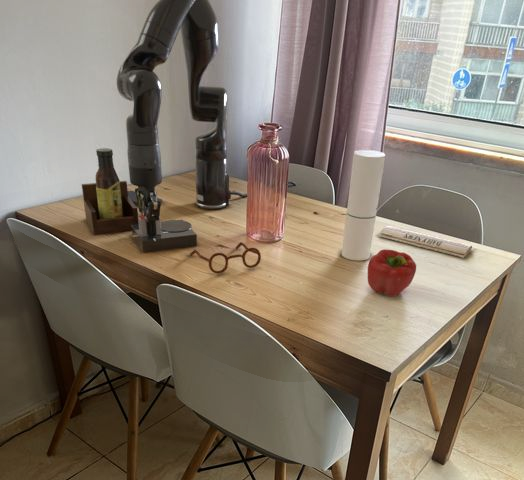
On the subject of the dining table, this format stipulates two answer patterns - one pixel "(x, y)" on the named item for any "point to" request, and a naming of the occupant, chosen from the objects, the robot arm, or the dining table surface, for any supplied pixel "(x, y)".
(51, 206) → the dining table surface
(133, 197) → the phone
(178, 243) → the hob
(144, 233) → the knob
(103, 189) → the sauce bottle
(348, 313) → the dining table surface
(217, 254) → the glasses
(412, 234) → the newspaper
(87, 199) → the spice rack
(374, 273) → the vegetable
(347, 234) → the cylindrical container
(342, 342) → the dining table surface
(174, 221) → the burner ring
